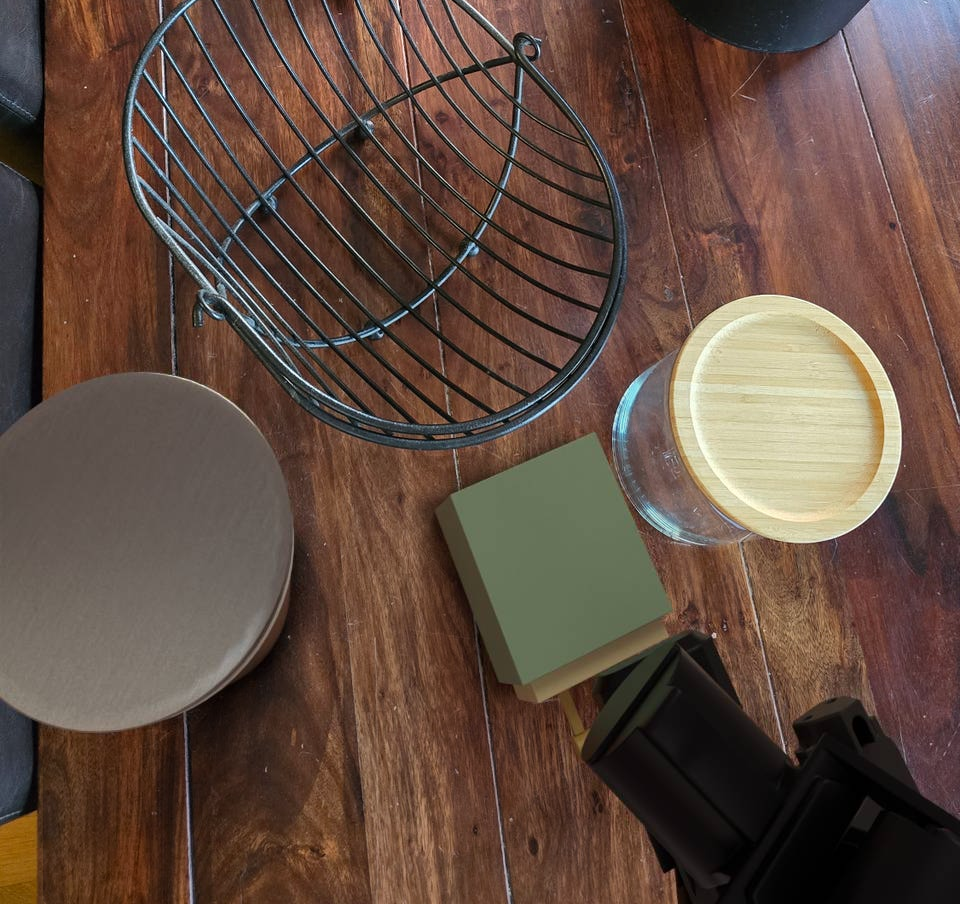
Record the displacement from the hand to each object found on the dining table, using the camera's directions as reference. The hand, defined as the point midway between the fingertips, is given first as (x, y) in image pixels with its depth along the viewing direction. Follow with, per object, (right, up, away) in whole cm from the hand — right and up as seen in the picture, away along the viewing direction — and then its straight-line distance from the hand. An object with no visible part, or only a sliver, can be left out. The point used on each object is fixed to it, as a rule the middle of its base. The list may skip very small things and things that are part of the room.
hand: (681, 838), depth 60 cm
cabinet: (-7, +8, +13) cm, 17 cm away
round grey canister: (-27, +8, +10) cm, 30 cm away
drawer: (-5, +6, +11) cm, 14 cm away
